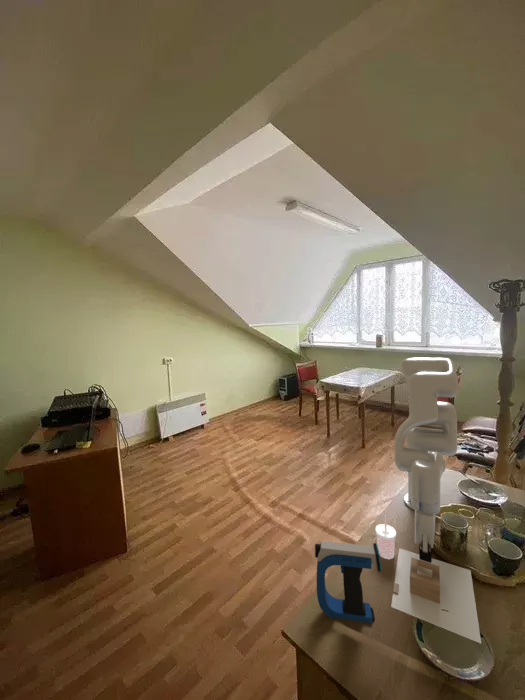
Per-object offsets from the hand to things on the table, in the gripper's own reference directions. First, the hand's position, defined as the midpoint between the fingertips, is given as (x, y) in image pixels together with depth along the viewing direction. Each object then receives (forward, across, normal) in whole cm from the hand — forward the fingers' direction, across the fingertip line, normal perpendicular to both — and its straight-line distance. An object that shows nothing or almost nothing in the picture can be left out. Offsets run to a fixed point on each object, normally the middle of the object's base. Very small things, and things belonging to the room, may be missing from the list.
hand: (425, 559), depth 89 cm
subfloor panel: (+3, +8, +2) cm, 9 cm away
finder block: (+2, +9, 0) cm, 9 cm away
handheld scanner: (+3, +25, -17) cm, 30 cm away
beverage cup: (+3, +1, -11) cm, 11 cm away
